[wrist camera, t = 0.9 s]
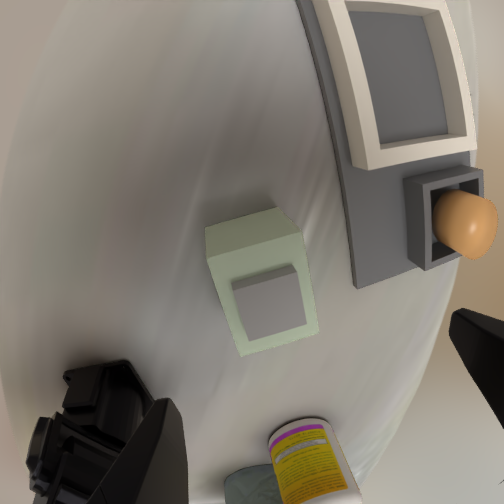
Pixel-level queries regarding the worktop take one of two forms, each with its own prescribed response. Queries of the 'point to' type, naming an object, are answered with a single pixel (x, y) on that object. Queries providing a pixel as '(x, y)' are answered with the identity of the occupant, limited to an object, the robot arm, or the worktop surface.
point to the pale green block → (262, 280)
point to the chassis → (393, 125)
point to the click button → (465, 222)
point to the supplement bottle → (311, 465)
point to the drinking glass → (253, 486)
